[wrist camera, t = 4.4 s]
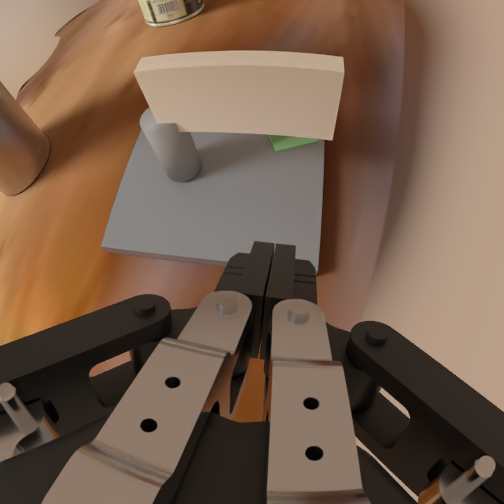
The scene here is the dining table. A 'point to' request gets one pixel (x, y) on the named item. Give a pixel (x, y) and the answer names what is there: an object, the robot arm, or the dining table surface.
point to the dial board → (221, 200)
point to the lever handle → (235, 99)
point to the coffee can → (169, 11)
